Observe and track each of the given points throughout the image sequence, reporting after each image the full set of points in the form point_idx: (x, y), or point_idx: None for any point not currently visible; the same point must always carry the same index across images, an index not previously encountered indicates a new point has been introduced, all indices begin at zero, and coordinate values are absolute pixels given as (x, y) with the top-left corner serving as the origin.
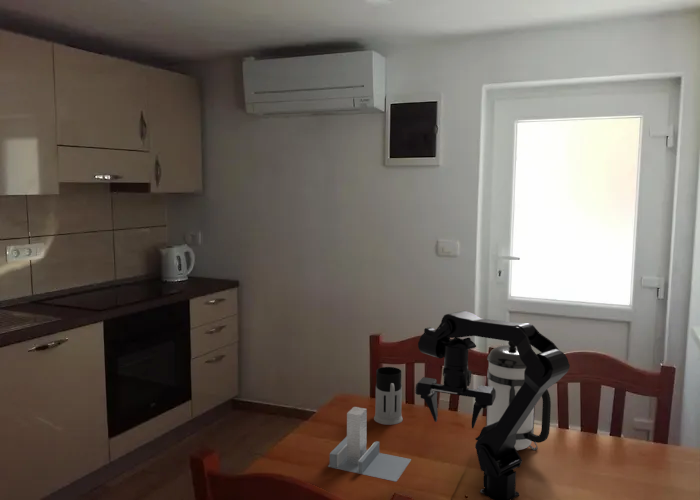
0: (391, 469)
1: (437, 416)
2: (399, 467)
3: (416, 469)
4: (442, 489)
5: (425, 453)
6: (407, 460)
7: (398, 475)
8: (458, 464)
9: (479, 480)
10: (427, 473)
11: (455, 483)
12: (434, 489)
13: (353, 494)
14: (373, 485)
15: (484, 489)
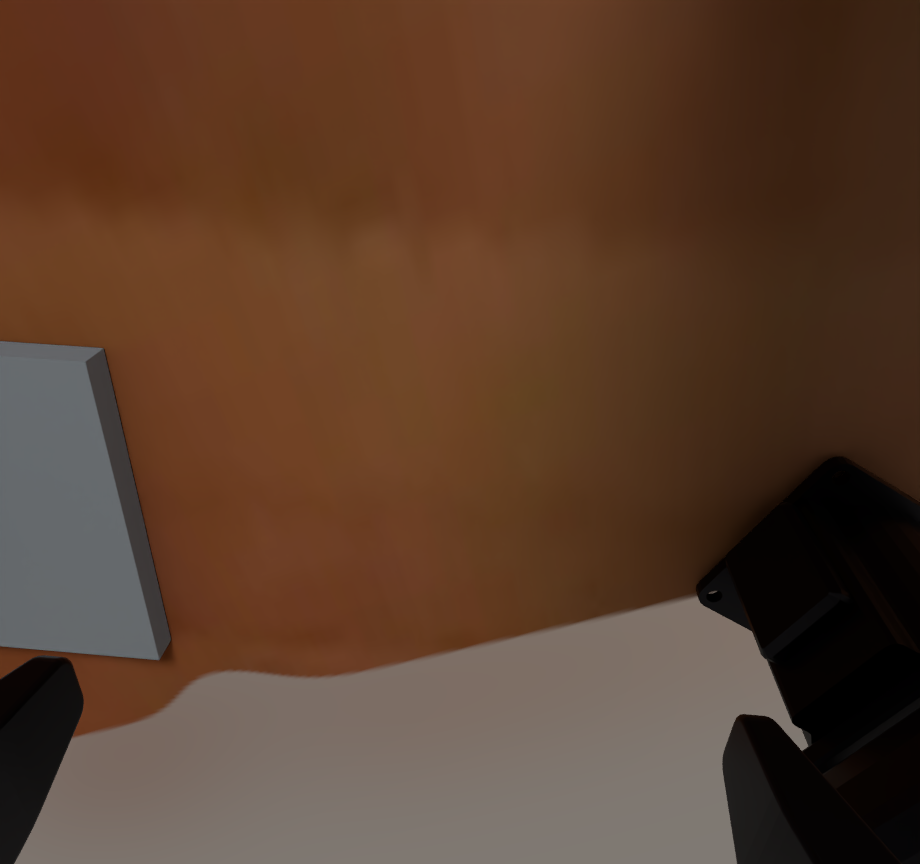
0: (47, 548)
1: (21, 713)
2: (78, 509)
3: (187, 428)
4: (445, 606)
5: (119, 106)
6: (68, 392)
7: (132, 601)
8: (488, 225)
9: (692, 435)
10: (286, 457)
11: (514, 523)
12: (397, 618)
13: None
14: None
15: (730, 578)
